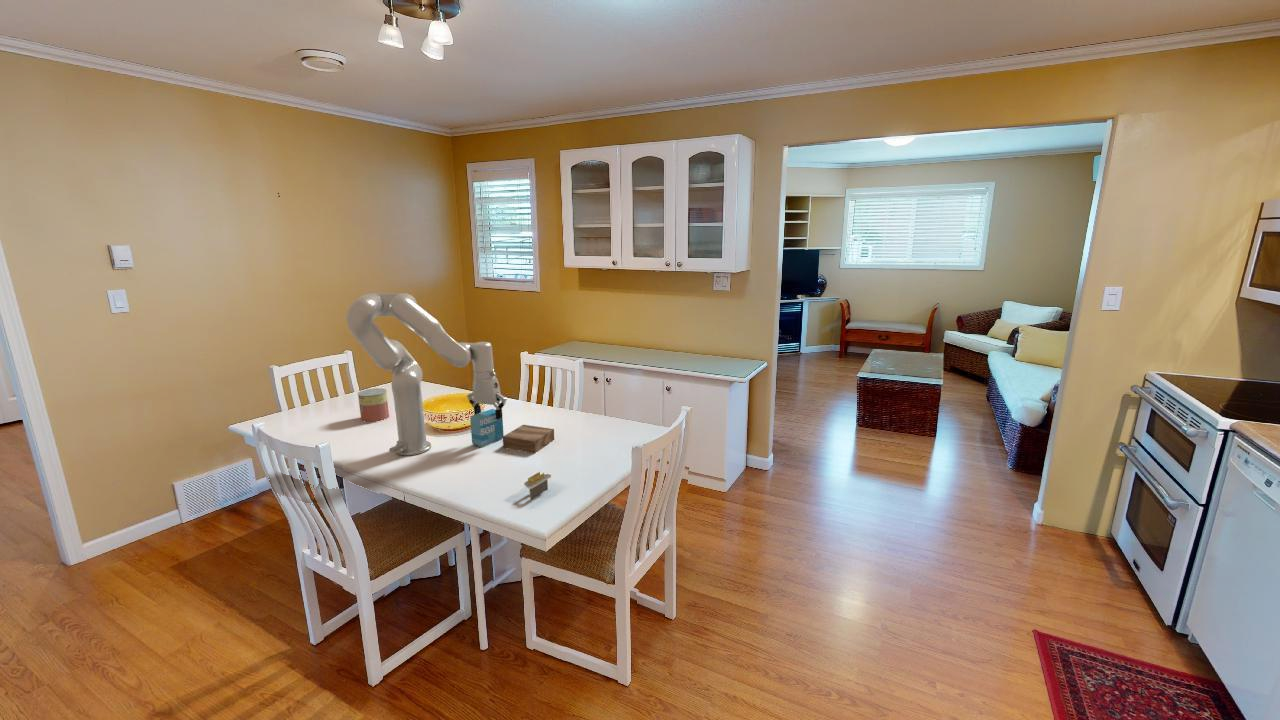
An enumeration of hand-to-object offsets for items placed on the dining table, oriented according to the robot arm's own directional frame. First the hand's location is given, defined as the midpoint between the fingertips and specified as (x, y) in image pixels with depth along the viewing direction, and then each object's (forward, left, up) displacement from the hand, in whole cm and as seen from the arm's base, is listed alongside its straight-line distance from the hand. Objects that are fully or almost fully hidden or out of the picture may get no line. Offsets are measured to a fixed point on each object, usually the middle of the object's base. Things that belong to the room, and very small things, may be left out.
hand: (488, 417), depth 212 cm
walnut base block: (+4, -15, -11) cm, 19 cm away
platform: (-31, -39, -11) cm, 51 cm away
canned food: (+6, +64, -10) cm, 65 cm away
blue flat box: (0, +1, -10) cm, 10 cm away
